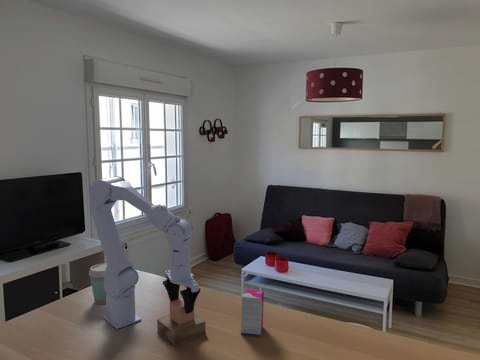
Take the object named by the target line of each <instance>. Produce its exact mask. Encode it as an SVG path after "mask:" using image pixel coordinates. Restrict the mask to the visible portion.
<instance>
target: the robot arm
mask: <svg viewBox="0 0 480 360" xmlns="http://www.w3.org/2000/svg"><path fill="white" fill-rule="evenodd" d="M88 194H89V197H90V212H91V215H92V219H93V222H94V225H95V228H96V232H97V236H98V238H99V242H100V245H101V248H102V252H103V254H104V259H105V262H106V263H107V267H106V269H105V271H104V274H103V276H104V289H105V291H106V293H107V296H106V304H105V305H106V306H105V309H106V315H104V316H103V318H104V320H106V321H107V322H108V323H109V324H110V325H111V326H113V327H114V328H115V329H117V330H118V329H119V330H120V328H123V327H124V328H125V327H126V326H128V325H133V324H135V323H137V322H140V321H142V318H141V317H139V316H138V315H137V314H136V298H135V297H136V295H135V291H136V290H135V289H136V285H137V284H138V282H139V279H140V277H139V273H138V271H137V270H136V268H135V267H134V264H133V262H132V261H131V260H129V259H128V258H126V256H125V252H124V248H123V245H122V241H121V238H120V235H119V232H118V229H117V225H116V222H115V219H114V216H113V211H112V209H113V207H114V205H116V202H117V201H125V202H127V203H128V204H130V205H131V206H133V207H135V208H136V209H137V210H139V211H140V212H142V213H143V214H145V215H146V219H147V222H149V223H150V224H151V225H154V226H155V227H156V228H157V229H159V230H160V231H162V233H164V234H165V238H166V240H167V241H168V243H169V250H170V251H169V252H170V259H169V260H170V263H169V264H170V269H168V270H165V271H164V278H165V280H163V281H162V284H163V287H164V288H165V290H166V292H167V295H168V299H169V303H170V302H172V301H174V300H177V299H180V297H179V294H180V295H181V298H183V301H184V308H185V313H186V314H188V313H191V312H193V309H194V310H195V303H196V300H197V298H198V296H199V294H200V293H201V288H200V285H199V283H197V282H196V280H195V279H194V277H195V274H193V273H192V257H191V250H192V249H191V238H190V237H191V236H192V235H193V234H194V226H193V223H192V222H191V221H190V220H189V219H188V218H181V216H179V215H176V214H174V213H172V211H170V210H168V207H167V206H166V205H165V204H163V205H162V204H156V205H155V204H153V203H152V202H151V201H150V200H149V199H148V198H146V197H145V196H144V195H143V194H141V193H140V191H138V190H137V189H136V188H134V187H133V186H132V184H131V182H130V181H128V180H126V179H125V178H124V177H122V176H121V175H115V176H112V177H107V178H103V179H96V180H94V181H93V182H92V183H91V185H90V187H89V188H88ZM181 286H182V287H185V288H186V289H182V290H180V287H181Z"/></svg>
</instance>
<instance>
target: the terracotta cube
mask: <svg viewBox="0 0 480 360" xmlns="http://www.w3.org/2000/svg"><path fill="white" fill-rule="evenodd" d="M194 314H195V308H194V309H193V312H191V313H188V314H186V313H185V308H184V301H183V297H179V299H177V300H174V301H172V302H170V301H169V315H170V319H172V320H173V321H174V322H176V323H177V324H179V325H181V324H183V323H186V322H188V321H191V320H193V319H194Z"/></svg>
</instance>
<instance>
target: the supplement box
mask: <svg viewBox="0 0 480 360" xmlns="http://www.w3.org/2000/svg"><path fill="white" fill-rule="evenodd" d="M264 299H265V291H264V290H262V289H261V290H259V289H252V288H251V289H250V288H245V290H244V292H243V294H242V296H241V316H240V317H241V319H240V320H241V321H240V335H241V336H252V337H261V333H262V330H263V328H264V303H265V302H264Z"/></svg>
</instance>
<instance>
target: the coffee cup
mask: <svg viewBox="0 0 480 360" xmlns="http://www.w3.org/2000/svg"><path fill="white" fill-rule="evenodd" d="M106 267H107V262H106V263H97V264H95V265H92V266H91V267H90V268H89V271H88V276H89V277H90V279H89V280H90V283H91V284H90V285H91V291H92V295H93V299H94V303H95V304H96V305H99V306H100V305H101V306H103V305H106V296H107V293H106V291H105V289H104V276H103V274H104V271H105V269H106Z"/></svg>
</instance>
